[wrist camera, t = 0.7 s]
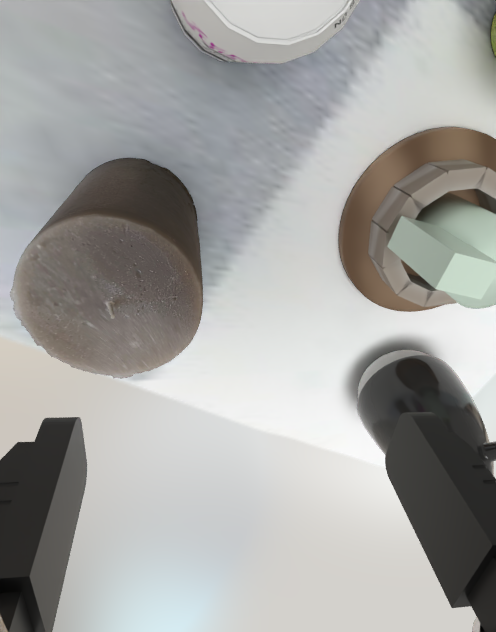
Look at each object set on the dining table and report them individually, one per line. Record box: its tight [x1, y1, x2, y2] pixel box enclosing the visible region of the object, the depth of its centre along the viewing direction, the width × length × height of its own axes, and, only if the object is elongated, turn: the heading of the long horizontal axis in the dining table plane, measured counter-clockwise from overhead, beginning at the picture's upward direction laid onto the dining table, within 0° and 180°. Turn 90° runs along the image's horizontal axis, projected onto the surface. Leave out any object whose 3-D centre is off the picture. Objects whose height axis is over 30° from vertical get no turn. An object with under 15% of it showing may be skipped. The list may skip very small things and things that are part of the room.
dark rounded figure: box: [357, 350, 496, 475], centre depth 40 cm, size 10×10×15 cm
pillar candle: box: [10, 158, 203, 378], centre depth 28 cm, size 10×10×15 cm
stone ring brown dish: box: [339, 127, 496, 312], centre depth 36 cm, size 16×16×4 cm
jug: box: [387, 193, 496, 309], centre depth 32 cm, size 11×6×12 cm, turn 74°
